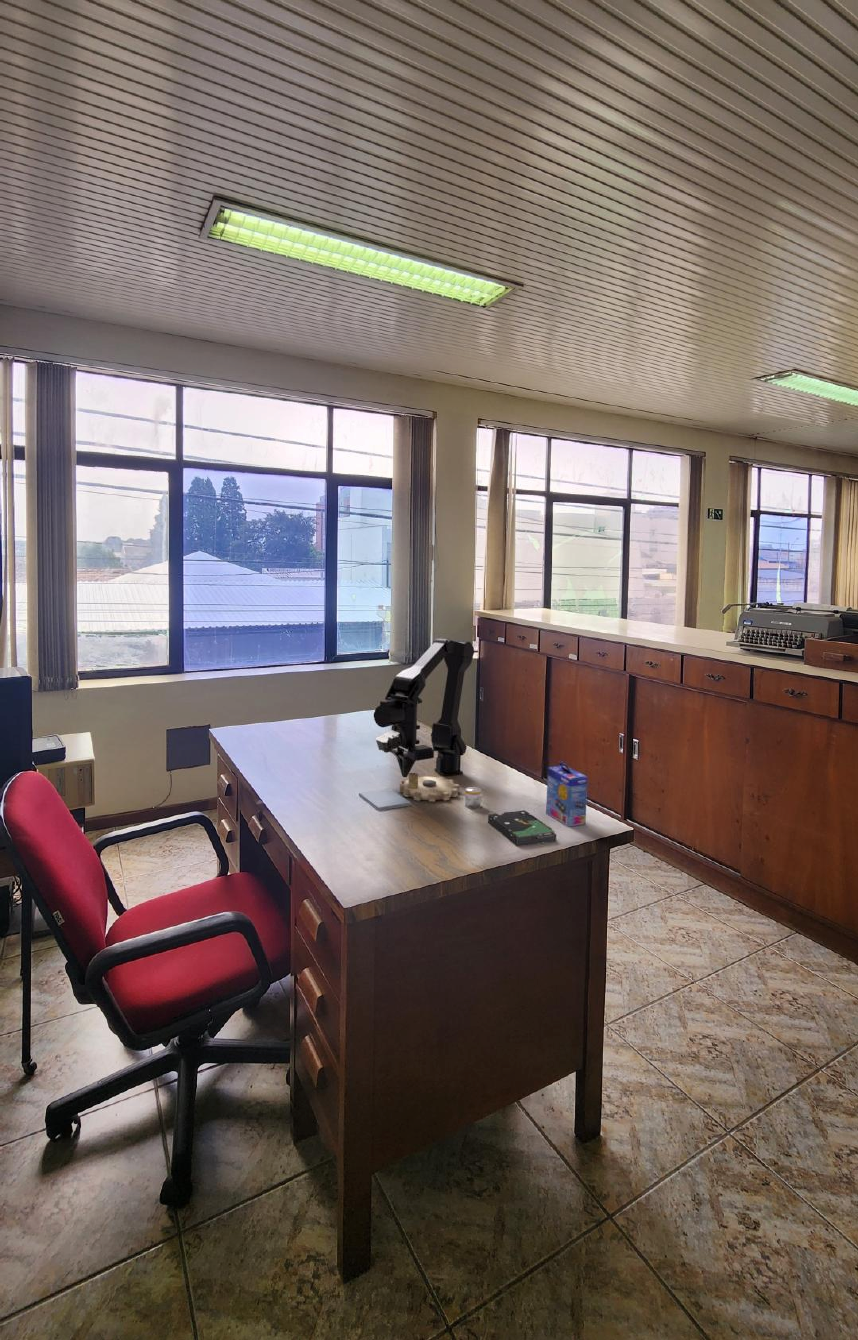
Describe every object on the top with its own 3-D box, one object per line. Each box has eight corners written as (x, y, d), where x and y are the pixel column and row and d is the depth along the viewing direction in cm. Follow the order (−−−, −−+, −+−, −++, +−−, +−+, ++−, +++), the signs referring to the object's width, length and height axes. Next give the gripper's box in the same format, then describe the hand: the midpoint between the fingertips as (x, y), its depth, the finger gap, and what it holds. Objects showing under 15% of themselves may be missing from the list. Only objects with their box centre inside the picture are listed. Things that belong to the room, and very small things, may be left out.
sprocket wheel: (439, 778, 193) (440, 760, 192) (470, 796, 179) (471, 776, 179) (389, 786, 185) (390, 767, 184) (417, 805, 172) (417, 784, 171)
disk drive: (486, 825, 162) (517, 848, 148) (487, 814, 162) (517, 836, 148) (524, 820, 166) (557, 842, 152) (524, 809, 166) (558, 831, 152)
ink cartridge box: (543, 813, 169) (547, 757, 167) (562, 810, 172) (565, 755, 169) (567, 827, 160) (571, 769, 158) (586, 824, 163) (590, 766, 161)
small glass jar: (475, 802, 176) (475, 785, 175) (483, 807, 172) (484, 790, 171) (461, 804, 174) (462, 788, 173) (470, 809, 170) (471, 792, 169)
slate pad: (389, 791, 182) (389, 788, 182) (410, 805, 172) (410, 802, 172) (359, 795, 178) (359, 792, 177) (378, 810, 167) (378, 807, 167)
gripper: (362, 717, 183) (361, 772, 186) (400, 732, 169) (399, 791, 171) (396, 713, 190) (395, 766, 192) (436, 727, 175) (434, 784, 178)
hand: (404, 776), depth 183 cm, fingers closed
